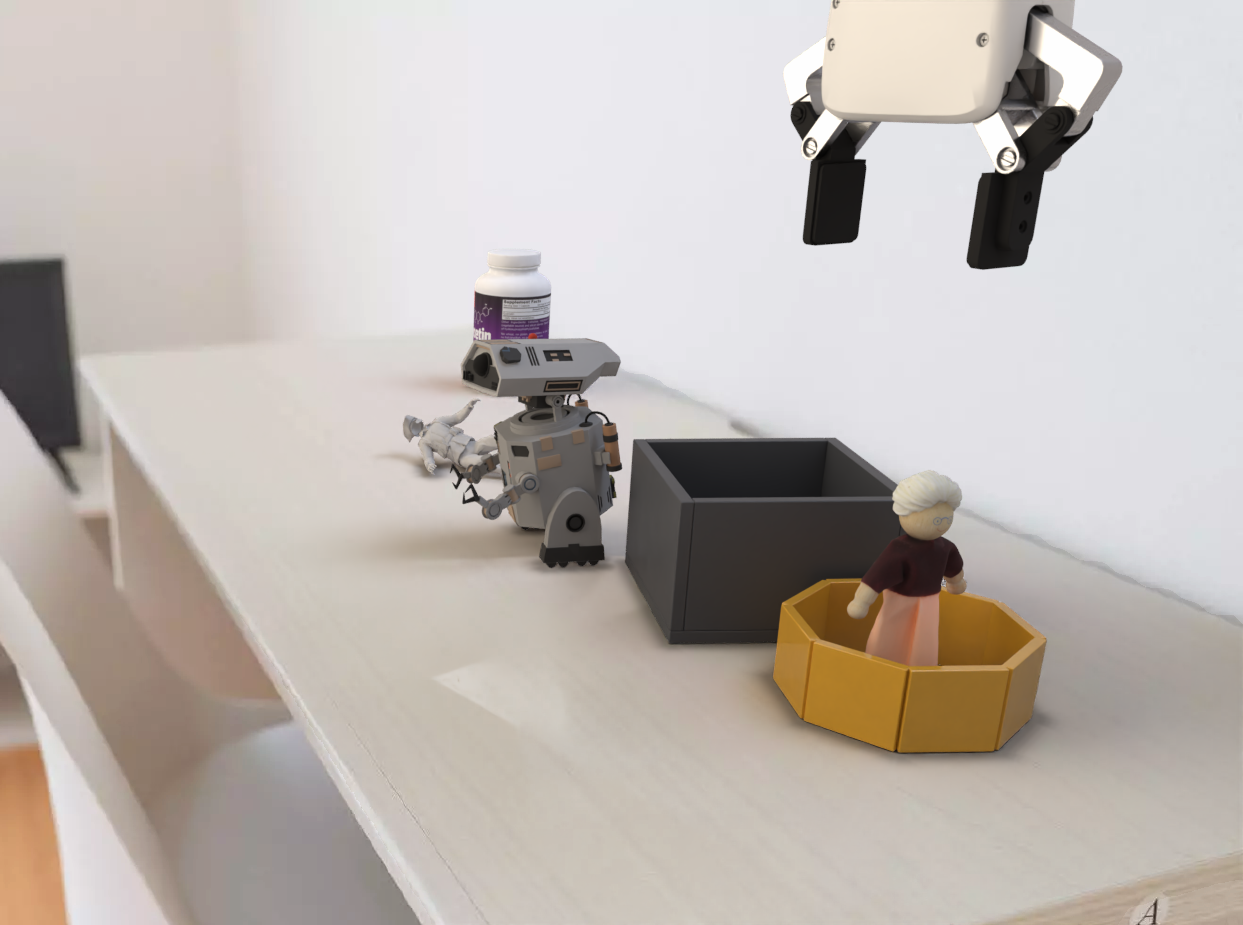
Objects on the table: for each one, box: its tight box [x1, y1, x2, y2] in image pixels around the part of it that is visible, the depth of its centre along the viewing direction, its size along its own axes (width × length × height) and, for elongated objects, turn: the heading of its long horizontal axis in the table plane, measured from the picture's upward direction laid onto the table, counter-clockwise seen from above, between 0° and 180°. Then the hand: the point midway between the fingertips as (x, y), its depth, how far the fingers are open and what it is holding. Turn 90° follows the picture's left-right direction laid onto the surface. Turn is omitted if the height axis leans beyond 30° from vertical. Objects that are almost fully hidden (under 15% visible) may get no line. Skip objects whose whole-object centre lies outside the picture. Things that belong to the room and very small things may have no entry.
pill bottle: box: [472, 248, 552, 342], centre depth 135 cm, size 8×8×14 cm
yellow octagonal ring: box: [772, 579, 1048, 754], centre depth 68 cm, size 12×12×4 cm
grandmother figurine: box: [847, 469, 968, 666], centre depth 67 cm, size 8×4×13 cm, turn 126°
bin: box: [624, 437, 907, 645], centre depth 80 cm, size 14×14×9 cm
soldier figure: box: [402, 397, 502, 476], centre depth 109 cm, size 8×5×12 cm
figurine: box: [449, 333, 623, 569], centre depth 88 cm, size 9×12×15 cm
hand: (907, 254), depth 60 cm, fingers open, 9 cm apart
